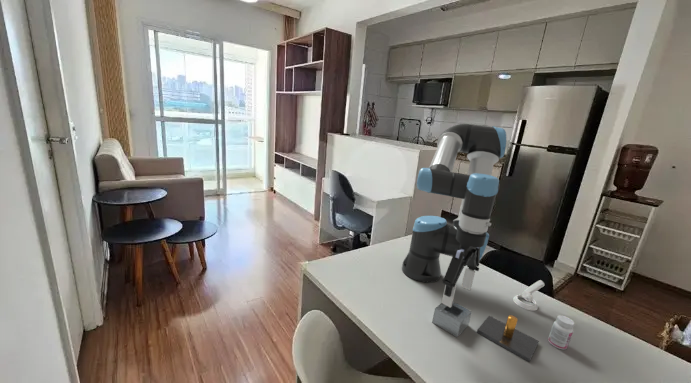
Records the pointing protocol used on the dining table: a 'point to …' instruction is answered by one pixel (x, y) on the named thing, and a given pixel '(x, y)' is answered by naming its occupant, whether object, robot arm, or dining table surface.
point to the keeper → (508, 336)
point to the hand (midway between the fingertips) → (456, 296)
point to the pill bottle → (561, 332)
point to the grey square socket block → (452, 318)
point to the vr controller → (529, 296)
